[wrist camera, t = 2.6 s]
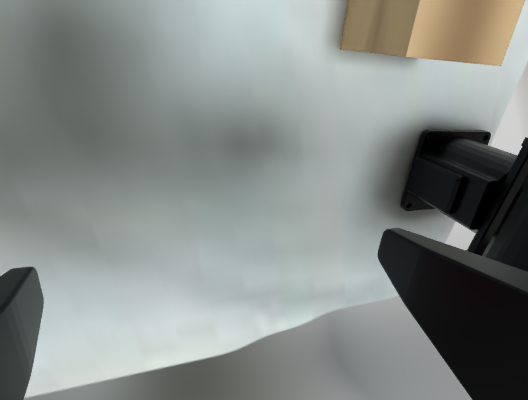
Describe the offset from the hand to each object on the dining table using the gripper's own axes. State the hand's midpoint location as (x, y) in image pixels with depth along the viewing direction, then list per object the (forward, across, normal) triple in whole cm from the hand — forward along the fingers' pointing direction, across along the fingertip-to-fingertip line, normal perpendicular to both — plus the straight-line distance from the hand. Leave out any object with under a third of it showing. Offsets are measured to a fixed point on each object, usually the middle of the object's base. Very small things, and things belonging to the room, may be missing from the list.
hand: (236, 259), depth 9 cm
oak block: (+13, -12, -8) cm, 20 cm away
